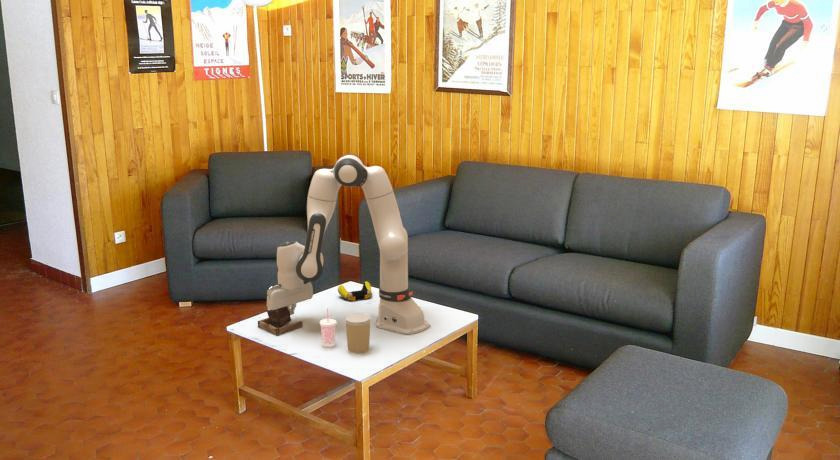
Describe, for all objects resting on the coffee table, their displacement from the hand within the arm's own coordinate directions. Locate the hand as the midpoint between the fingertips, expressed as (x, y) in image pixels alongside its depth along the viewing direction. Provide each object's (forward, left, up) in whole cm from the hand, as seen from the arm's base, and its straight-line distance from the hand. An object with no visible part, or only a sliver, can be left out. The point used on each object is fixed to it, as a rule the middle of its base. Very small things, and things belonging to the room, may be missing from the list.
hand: (291, 314), depth 291 cm
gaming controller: (+5, -39, -4) cm, 39 cm away
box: (+2, +4, -3) cm, 5 cm away
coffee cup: (-38, -2, -4) cm, 38 cm away
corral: (0, +5, -4) cm, 6 cm away
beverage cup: (-27, +3, -4) cm, 28 cm away
